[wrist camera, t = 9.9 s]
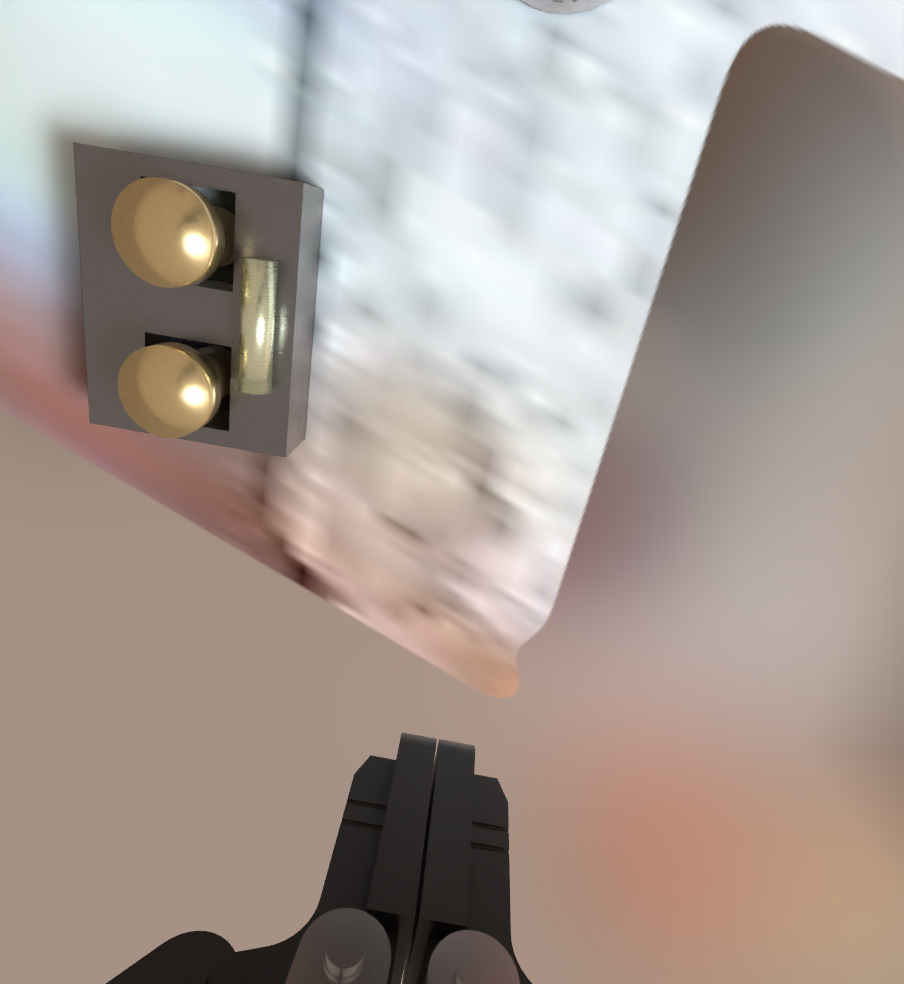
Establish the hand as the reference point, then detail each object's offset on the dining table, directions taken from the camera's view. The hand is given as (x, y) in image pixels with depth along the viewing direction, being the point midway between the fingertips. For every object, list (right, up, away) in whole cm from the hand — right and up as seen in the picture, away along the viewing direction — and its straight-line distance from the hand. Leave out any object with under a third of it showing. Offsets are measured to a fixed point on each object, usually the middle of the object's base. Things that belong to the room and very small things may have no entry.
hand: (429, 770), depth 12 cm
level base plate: (-14, +17, +26) cm, 34 cm away
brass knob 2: (-15, +13, +27) cm, 34 cm away
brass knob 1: (-13, +21, +24) cm, 35 cm away
